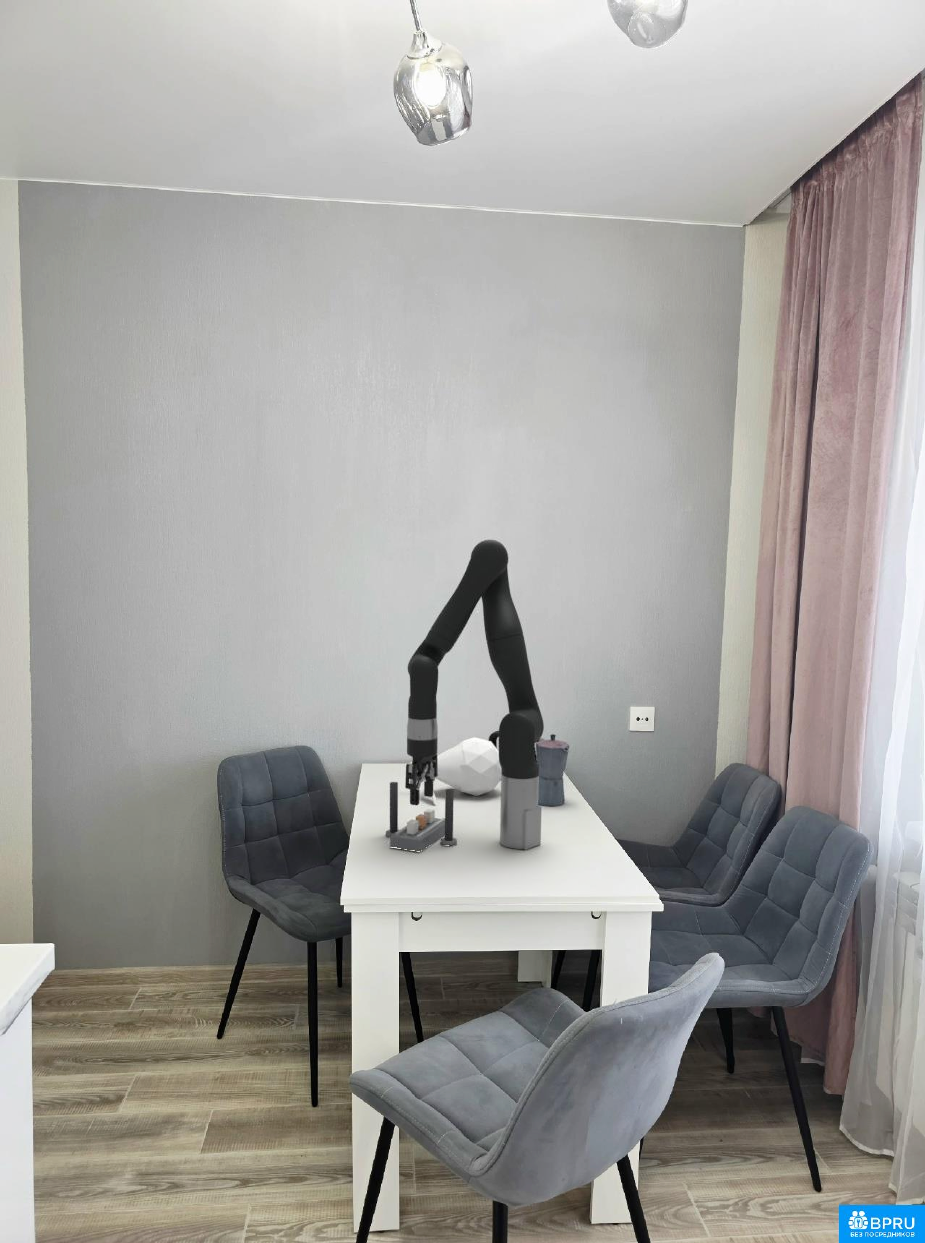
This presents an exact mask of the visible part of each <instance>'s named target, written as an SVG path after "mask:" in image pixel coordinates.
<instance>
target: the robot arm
mask: <svg viewBox="0 0 925 1243" xmlns="http://www.w3.org/2000/svg"><path fill="white" fill-rule="evenodd" d="M508 564H509V554H508V550H507V548H506V547H505V545H504V544H503V543H501V542H500V541H498V540H496V539H484V540H481V541H480V542H478V543H477V544H476V545H475V546H474V547H473V549H472V551H471V554H470V559H469V561H468V563H467V567H466V569H465V572H464V573H463V576H462V578H461V579H460V581H459V583H458V585H457V587H456V589H455V590H454V592H452V595H451V596H450V598H449V599H448V601H447V602H446V604H444V607H443V608H442V609H441V611H440V613H439V615H438V616H437V617H436V618H435V621H434V622H433V624H432V626H431V628H430V629H429V631H428V633H427V634H426V636H425V638H424V639H423V641H421V643H420V644H419V646H417V649H416V650H415V651H414V652H413V654H412V656H411V657H410V659H409V661H408V662H407V663H408V664H407V673H408V675H409V697H408V703H407V708H408V710H407V724H406V754H407V755H408V756H409V757H412V761H411V762H412V764H410V763H407V764H406V765H405V783H404V784H405V785H404V787H405V789H407V790H409V804H410V805H411V806H418V805H420V787H421V785H422V783H423V787H424V788H423V795H424V796H425V797H428V798H432V796H433V792H434V782H435V780H436V778H435V777H437V776H438V761H437V756H438V738H439V736H438V719H437V717H438V716H437V712H438V709H437V708H438V707H437V705H438V704H437V703H438V702H437V694H438V684H439V666H440V664H441V662H442V660H443V659H444V658H445V656H446V655H447V654H448V653H449V652H450V651H451V650H452V649H453V647H454V646H455V645H456V643H457V641H458V639H459V638H460V637H461V635H462V633H463V631H464V629H465V627H466V626H467V624H468V621H469V620H470V618H471V616H472V615H473V612H474V610H475V608H476V607H477V605H478V602H479V601H480V600H482V613H483V626H484V634H485V640H486V644H487V650H488V656H489V658H490V663H491V665H492V667H493V669H494V671H495V673H496V675H497V677H498V678H499V680H500V681H501V684H502V686H503V688H504V692H505V695H506V700H507V706H508V713H507V714H505V716H504V717H502V719H501V721H500V723H499V728H498V731H499V737H498V751H499V762H500V765H501V780H500V814H499V815H500V821H499V823H500V824H499V827H500V828H499V843H500V845H501V846H503V847H506V848H509V849H517V850H518V849H519V850H521V849H522V850H527V851H528V850H529V849H532V848H534V847H537V846H539V845H541V844H542V843H541V842H542V841H541V840H542V810H543V809H542V808H543V807H542V805H539V804H538V790H539V765H538V763H537V762H536V761H535V751H536V743H537V741H538V740H539V739H540V738H542V736H543V733H544V728H545V726H544V725H545V724H544V719H543V715H542V712H541V709H540V706H539V703H538V700H537V699H538V698H537V696H536V693H535V689H534V685H533V680H532V674H531V669H530V664H529V659H528V658H529V656H528V653H527V645H526V642H525V636H524V631H523V627H522V625H521V621H520V617H519V614H518V612H517V609H516V606H515V604H514V600H513V598H512V593H511V589H510V588H511V587H510V581H509V572H508V571H509V569H508ZM535 742H536V743H535ZM433 768H434V769H433ZM424 780H426V781H425V782H424Z"/></svg>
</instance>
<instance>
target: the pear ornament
mask: <svg viewBox="0 0 925 1243" xmlns="http://www.w3.org/2000/svg"><path fill="white" fill-rule="evenodd" d="M497 748H498V747H497ZM497 748H496V747H495V746H494V745H493V743H492V742H491V741H488V740H487V739H482V738H478V737H471V738H468V739H465V740H462V741H460V742H459V743H458V744H457V745H456V746H452V747H450V748H448V749H447V750H445V751H442V753H440V754H437V761H438V776H437V777H435V780H436V779H437V780H438V781H440V782H442V783H444V784H445V785H448V786H450V787H452V788H455V789H457V790H458V791H459V792H461V793H465V794H469V795H472V796H475V797H479V796H481V795H484V794H486V793H488V792H491V791H494V789H495V788H496V787H497V785H498V784H499V783H501V765H500V762H499V749H497ZM409 764H412V761H410V762H409ZM433 769H434V768H433ZM425 781H426V780H424V781H423V783H424V782H425ZM431 798H432V802H433V805H434V806H436V805H437V798H436V795H435V792H434V791H433V796H432V797H431Z"/></svg>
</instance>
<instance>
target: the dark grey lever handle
mask: <svg viewBox="0 0 925 1243" xmlns="http://www.w3.org/2000/svg"><path fill="white" fill-rule="evenodd" d="M398 799H399V783H398V782H397V781H391V782H389V829H387V830H386V831H385V837H386V836H387V837H386V838H388V837H390V836H391V835H393V834H394V833H396V832H397V831H399V830H400V829H399V818H398V816H399V813H398V812H399V810H398V809H399V803H398V801H399V800H398Z"/></svg>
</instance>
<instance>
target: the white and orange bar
mask: <svg viewBox="0 0 925 1243" xmlns="http://www.w3.org/2000/svg"><path fill="white" fill-rule="evenodd" d="M435 813H436V810H435V809H431V808H428V809H426V810H425V811H423V813H422V814H418V815H416V816H415V819H410V820H408V821H406V826H407V834H412V835H414V834H415V833H417V832H418V828H419V829H423V828H424V827H426V826H427V823H432V822H433V821H435V818H436V816H435Z"/></svg>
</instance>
